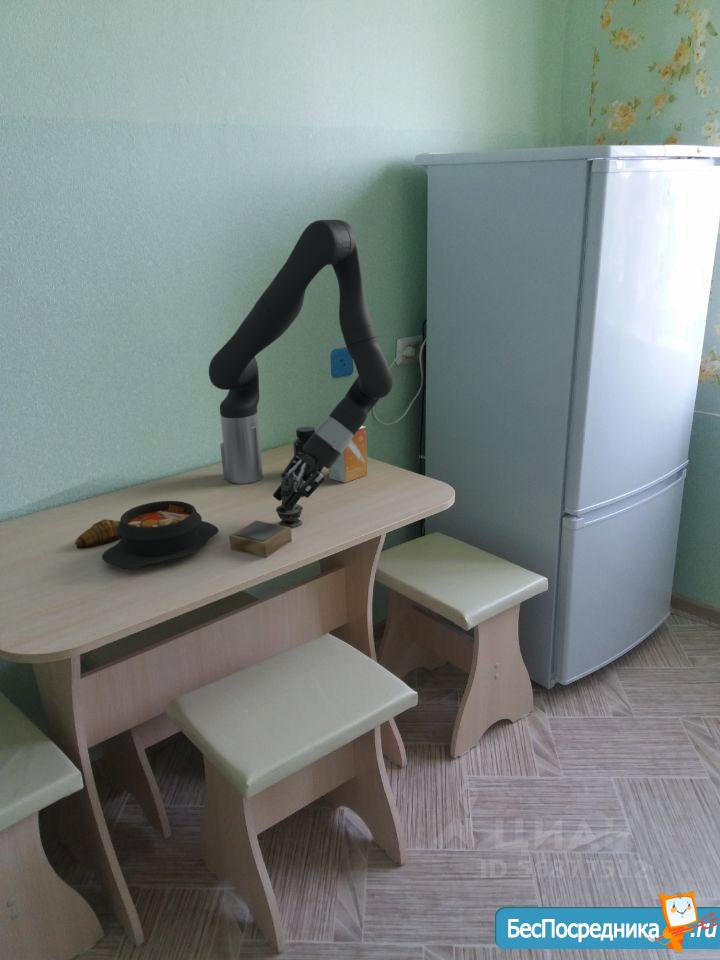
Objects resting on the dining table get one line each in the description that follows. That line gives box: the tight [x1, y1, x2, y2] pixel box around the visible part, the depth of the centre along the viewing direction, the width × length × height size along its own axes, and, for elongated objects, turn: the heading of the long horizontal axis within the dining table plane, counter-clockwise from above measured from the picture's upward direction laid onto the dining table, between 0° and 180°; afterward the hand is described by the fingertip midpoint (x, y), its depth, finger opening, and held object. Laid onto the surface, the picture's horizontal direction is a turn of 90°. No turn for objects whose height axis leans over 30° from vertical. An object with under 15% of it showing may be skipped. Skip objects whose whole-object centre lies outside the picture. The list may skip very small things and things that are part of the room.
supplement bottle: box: [292, 426, 316, 458], centre depth 203 cm, size 7×7×12 cm
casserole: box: [101, 500, 220, 569], centre depth 161 cm, size 25×19×8 cm
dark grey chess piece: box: [275, 472, 304, 529], centre depth 172 cm, size 6×6×12 cm
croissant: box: [74, 518, 122, 549], centre depth 168 cm, size 14×7×5 cm, turn 131°
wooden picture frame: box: [228, 520, 293, 558], centre depth 163 cm, size 9×9×3 cm
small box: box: [328, 425, 368, 484], centre depth 199 cm, size 8×6×13 cm
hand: (281, 502), depth 171 cm, fingers open, 5 cm apart
